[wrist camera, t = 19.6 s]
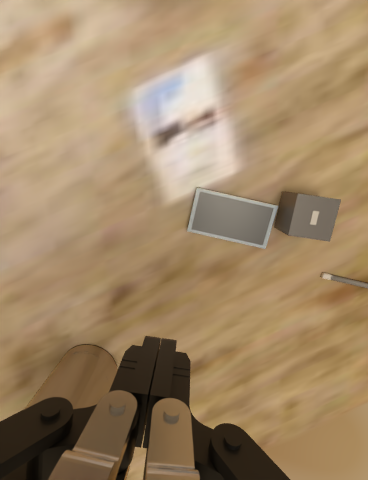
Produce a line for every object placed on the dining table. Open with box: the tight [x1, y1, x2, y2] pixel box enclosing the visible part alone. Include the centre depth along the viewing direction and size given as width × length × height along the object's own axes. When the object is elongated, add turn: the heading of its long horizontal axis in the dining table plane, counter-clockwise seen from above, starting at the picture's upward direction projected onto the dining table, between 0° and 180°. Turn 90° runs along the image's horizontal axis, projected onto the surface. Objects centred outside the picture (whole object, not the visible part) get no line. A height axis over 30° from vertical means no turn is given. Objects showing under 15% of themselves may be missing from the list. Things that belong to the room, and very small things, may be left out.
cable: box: [321, 272, 368, 288], centre depth 39 cm, size 13×1×1 cm, turn 77°
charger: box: [274, 191, 341, 241], centre depth 35 cm, size 5×6×6 cm
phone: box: [187, 187, 278, 249], centre depth 38 cm, size 6×11×2 cm, turn 77°
